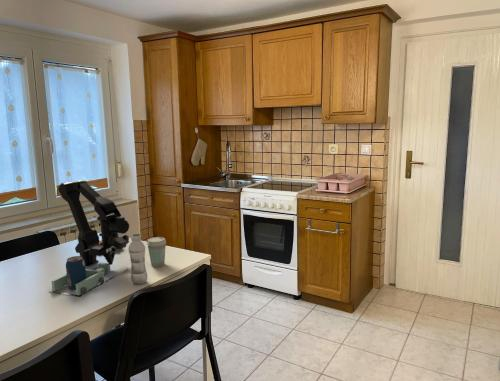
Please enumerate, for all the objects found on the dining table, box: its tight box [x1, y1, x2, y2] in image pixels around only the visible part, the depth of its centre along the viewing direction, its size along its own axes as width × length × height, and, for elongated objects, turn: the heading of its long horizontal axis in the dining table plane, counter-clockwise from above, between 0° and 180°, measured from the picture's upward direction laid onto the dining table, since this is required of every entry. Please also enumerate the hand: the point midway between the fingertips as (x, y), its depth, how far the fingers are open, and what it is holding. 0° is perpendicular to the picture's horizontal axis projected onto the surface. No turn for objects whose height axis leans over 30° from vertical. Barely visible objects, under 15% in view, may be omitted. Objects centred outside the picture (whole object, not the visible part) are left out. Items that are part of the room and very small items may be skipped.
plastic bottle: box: [128, 233, 148, 285], centre depth 157 cm, size 6×7×20 cm
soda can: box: [65, 255, 87, 291], centre depth 154 cm, size 7×7×12 cm
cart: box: [51, 262, 112, 295], centre depth 160 cm, size 15×23×4 cm, turn 161°
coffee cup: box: [146, 236, 167, 268], centre depth 177 cm, size 8×8×12 cm
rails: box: [49, 266, 128, 298], centre depth 162 cm, size 15×29×1 cm, turn 161°
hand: (110, 264), depth 174 cm, fingers closed
